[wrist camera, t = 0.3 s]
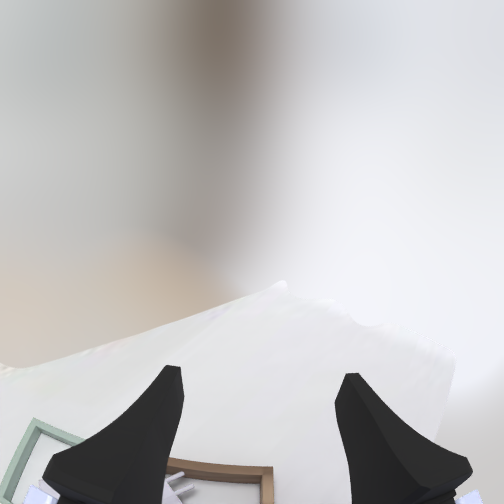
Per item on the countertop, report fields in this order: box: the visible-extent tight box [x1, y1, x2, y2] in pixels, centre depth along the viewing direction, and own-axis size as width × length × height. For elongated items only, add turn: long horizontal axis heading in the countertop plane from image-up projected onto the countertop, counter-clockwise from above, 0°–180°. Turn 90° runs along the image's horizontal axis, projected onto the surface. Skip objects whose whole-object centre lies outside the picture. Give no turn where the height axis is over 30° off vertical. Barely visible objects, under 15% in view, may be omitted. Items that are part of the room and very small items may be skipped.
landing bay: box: [0, 417, 85, 504], centre depth 16 cm, size 14×18×2 cm
